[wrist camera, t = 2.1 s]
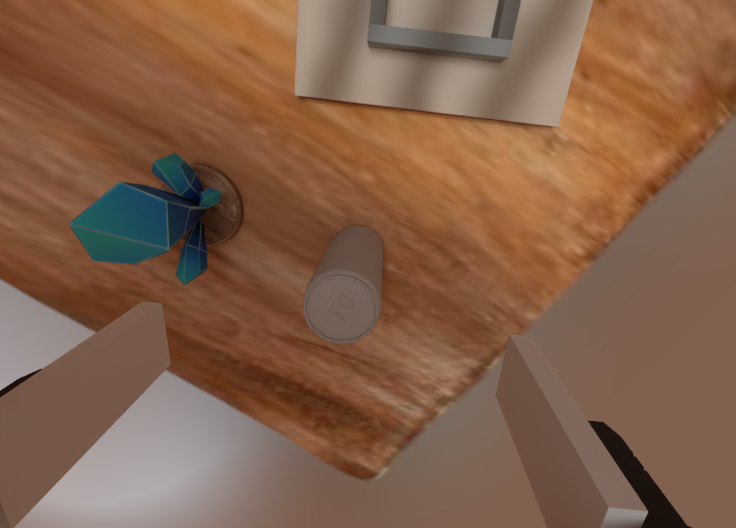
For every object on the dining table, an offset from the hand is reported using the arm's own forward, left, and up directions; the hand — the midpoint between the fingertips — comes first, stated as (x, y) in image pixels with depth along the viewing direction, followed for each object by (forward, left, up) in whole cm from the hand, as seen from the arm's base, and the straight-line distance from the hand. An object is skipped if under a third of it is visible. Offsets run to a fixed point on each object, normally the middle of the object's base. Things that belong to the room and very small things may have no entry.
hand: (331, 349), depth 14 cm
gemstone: (-14, 0, -20) cm, 24 cm away
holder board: (+4, +18, -20) cm, 26 cm away
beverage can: (0, -2, -20) cm, 20 cm away
